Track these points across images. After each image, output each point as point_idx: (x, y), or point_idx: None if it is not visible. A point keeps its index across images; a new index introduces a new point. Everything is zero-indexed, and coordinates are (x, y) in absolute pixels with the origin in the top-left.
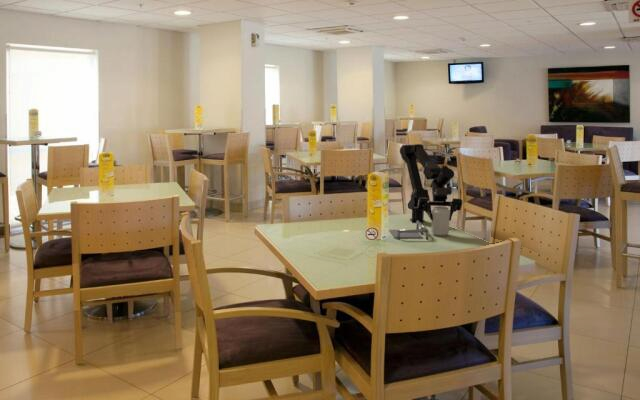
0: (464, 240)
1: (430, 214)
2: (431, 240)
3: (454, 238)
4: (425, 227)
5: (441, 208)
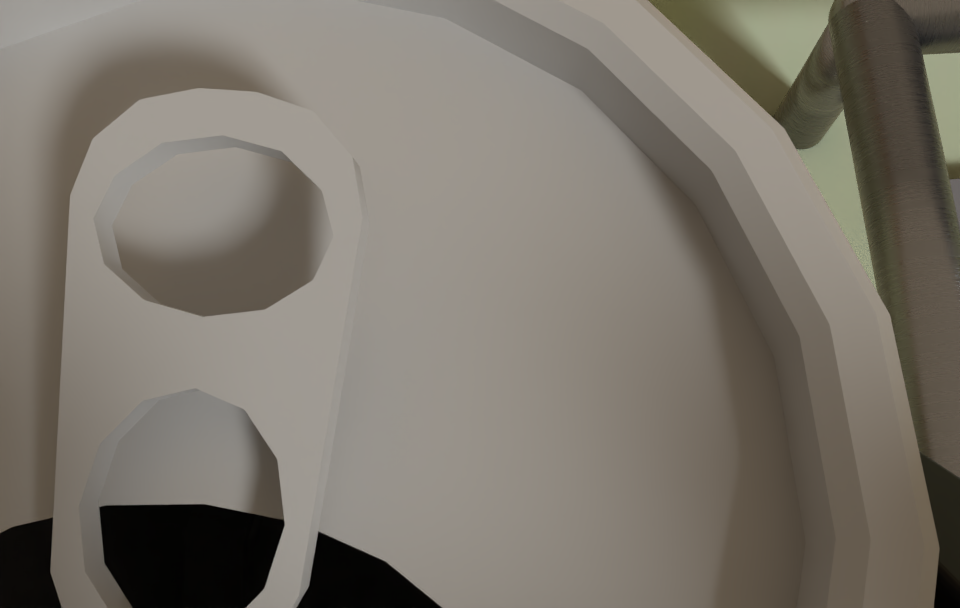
0: None
1: (945, 490)
2: (708, 36)
3: None
4: (923, 272)
5: (249, 109)
